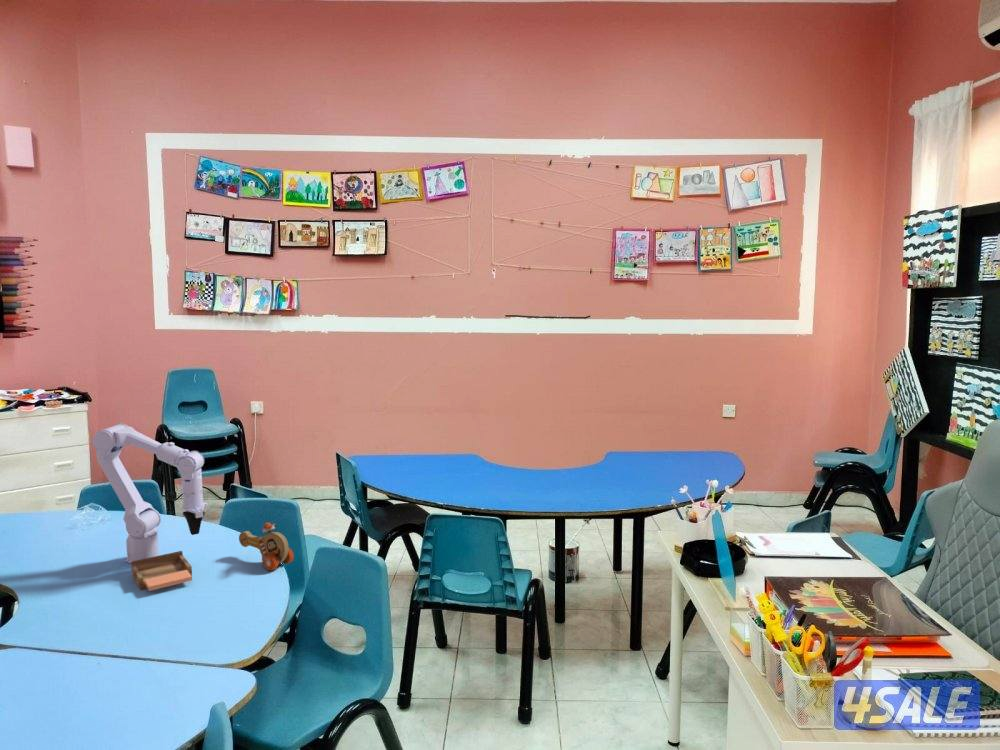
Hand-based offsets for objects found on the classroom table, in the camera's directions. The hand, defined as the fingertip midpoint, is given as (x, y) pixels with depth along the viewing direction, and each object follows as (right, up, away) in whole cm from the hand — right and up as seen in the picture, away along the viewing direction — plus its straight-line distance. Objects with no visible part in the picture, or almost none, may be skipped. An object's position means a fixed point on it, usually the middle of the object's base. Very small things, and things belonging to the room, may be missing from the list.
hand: (194, 533), depth 215 cm
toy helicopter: (+22, -10, +2) cm, 24 cm away
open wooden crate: (-6, -11, -9) cm, 15 cm away
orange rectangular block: (-2, -10, -14) cm, 17 cm away
